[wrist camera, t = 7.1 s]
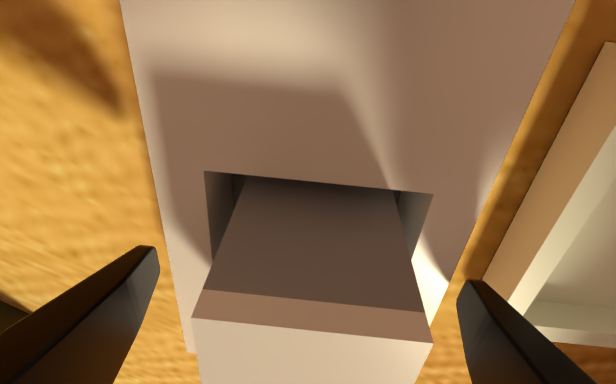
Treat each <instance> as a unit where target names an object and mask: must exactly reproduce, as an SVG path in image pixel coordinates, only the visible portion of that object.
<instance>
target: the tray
mask: <svg viewBox="0 0 616 384" xmlns="http://www.w3.org/2000/svg"><path fill="white" fill-rule="evenodd" d="M482 280H483V281H485V282H486V283H487V284H488V285H489V286H490V287H491V288H493V289H494V290H495V291H496V292H497V293H498V294H499V295H500V296H501V297H502V298H504V299H505V300H506V301H507V302H508V303H509V304H510V305H511V306H512V307H513V308H515V309H516V310H517V311H518V312H519V313H520V314H521V315H522V316H523V317H524V318H526V319H527V320H528V321H529V322H530V323H531V324H532V325H533V326H534V327H535V328H537V329H538V330H539V331H540V332H541V333H542V334H543V335H544V336H545V337H546V338H548V339H549V340H550V341H551V342H560V343H570V344H580V345H589V346H599V347H609V348H616V43H614V42H605V44H604V46H603V48H602V50H601V52H600V54H599V56H598V57H597V59H596V61H595V63H594V65H593V67H592V69H591V71H590V73H589V75H588V77H587V79H586V80H585V82H584V84H583V86H582V88H581V90H580V92H579V94H578V96H577V98H576V100H575V102H574V104H573V105H572V107H571V109H570V111H569V113H568V115H567V117H566V119H565V121H564V123H563V125H562V127H561V129H560V130H559V132H558V134H557V136H556V138H555V140H554V142H553V144H552V146H551V148H550V150H549V152H548V153H547V155H546V157H545V159H544V161H543V163H542V165H541V167H540V169H539V171H538V173H537V175H536V177H535V178H534V180H533V182H532V184H531V186H530V188H529V190H528V192H527V194H526V196H525V198H524V200H523V202H522V203H521V205H520V207H519V209H518V211H517V213H516V215H515V217H514V219H513V221H512V223H511V225H510V227H509V228H508V230H507V232H506V234H505V236H504V238H503V240H502V242H501V244H500V246H499V248H498V250H497V251H496V253H495V255H494V257H493V259H492V261H491V263H490V265H489V267H488V269H487V271H486V273H485V275H484V276H483V278H482Z"/></svg>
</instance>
